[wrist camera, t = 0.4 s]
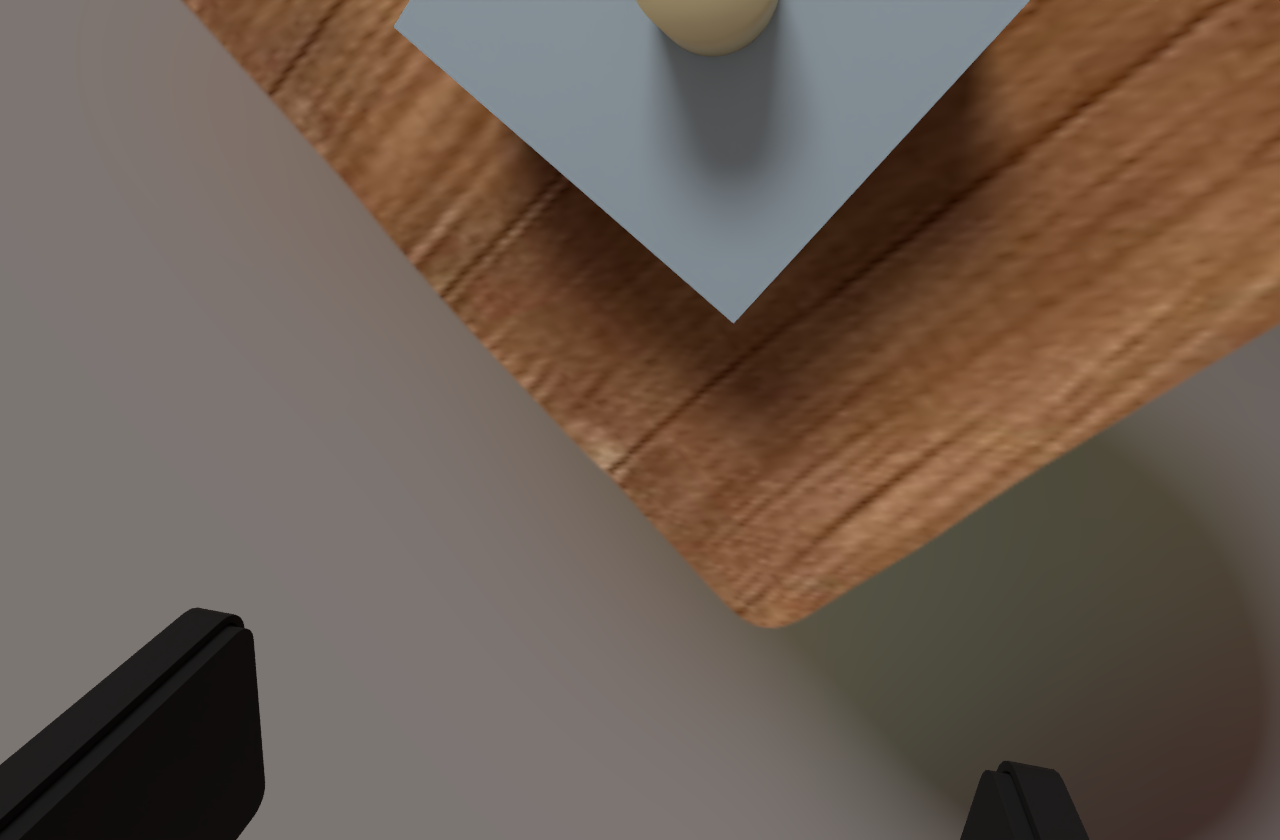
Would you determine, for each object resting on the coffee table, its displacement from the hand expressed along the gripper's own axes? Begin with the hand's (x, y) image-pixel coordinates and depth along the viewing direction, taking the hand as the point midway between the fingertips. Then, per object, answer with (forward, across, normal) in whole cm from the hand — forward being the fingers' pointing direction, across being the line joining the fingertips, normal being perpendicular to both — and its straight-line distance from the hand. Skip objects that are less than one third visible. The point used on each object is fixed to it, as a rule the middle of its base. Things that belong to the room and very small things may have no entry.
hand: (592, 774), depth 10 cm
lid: (+21, +1, -12) cm, 24 cm away
